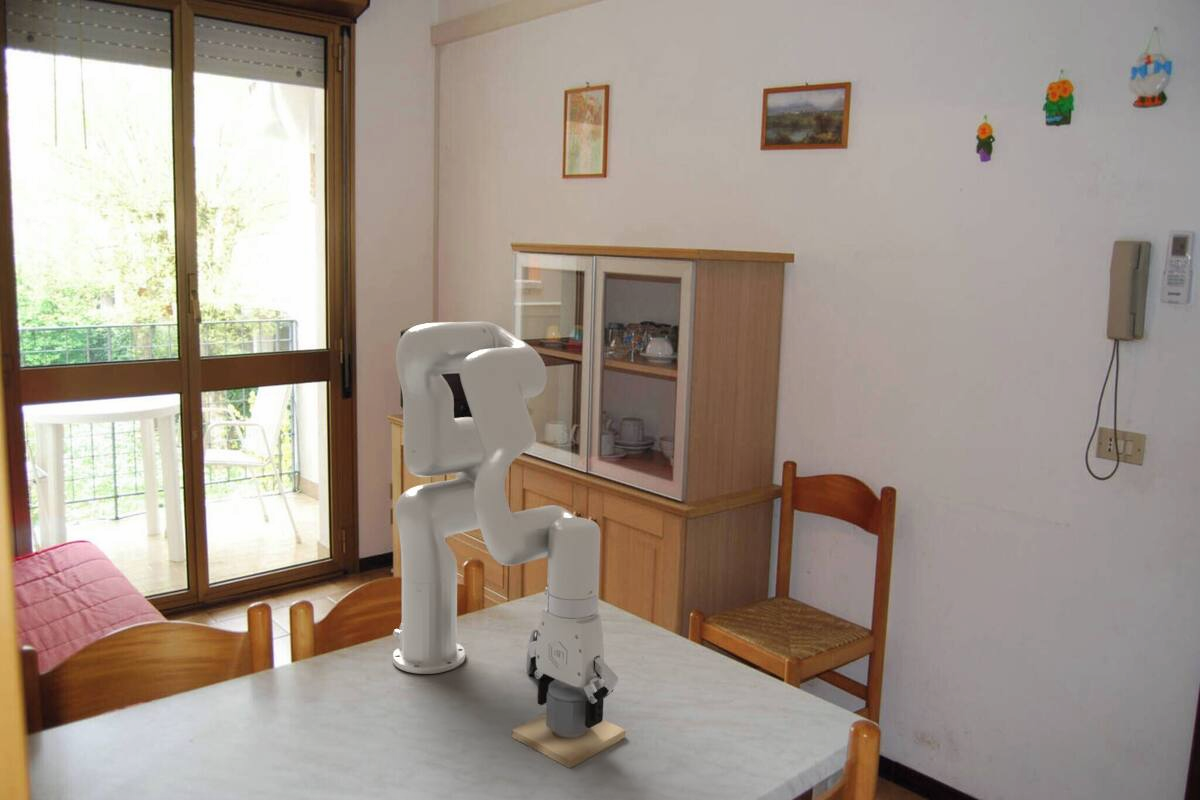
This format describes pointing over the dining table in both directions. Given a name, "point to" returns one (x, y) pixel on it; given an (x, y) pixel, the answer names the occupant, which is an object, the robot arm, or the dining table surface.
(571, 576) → the robot arm
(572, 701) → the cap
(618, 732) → the plate with round knob
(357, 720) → the dining table surface
